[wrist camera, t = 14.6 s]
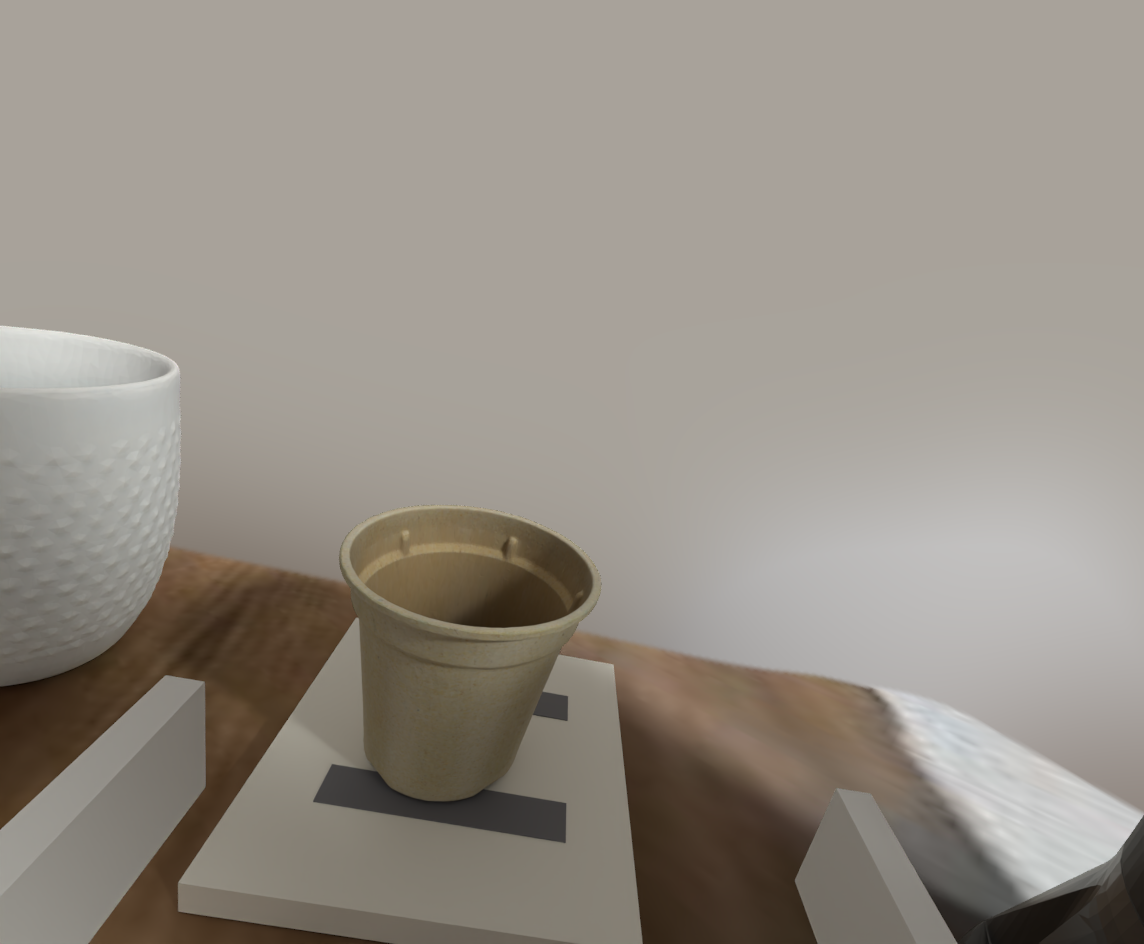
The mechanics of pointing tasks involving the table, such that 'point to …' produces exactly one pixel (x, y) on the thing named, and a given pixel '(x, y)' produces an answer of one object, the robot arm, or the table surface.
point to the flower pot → (458, 638)
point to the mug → (81, 494)
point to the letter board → (431, 830)
